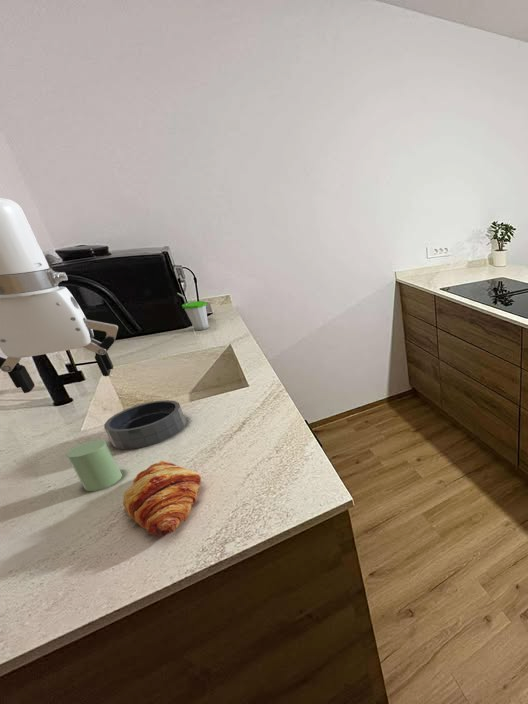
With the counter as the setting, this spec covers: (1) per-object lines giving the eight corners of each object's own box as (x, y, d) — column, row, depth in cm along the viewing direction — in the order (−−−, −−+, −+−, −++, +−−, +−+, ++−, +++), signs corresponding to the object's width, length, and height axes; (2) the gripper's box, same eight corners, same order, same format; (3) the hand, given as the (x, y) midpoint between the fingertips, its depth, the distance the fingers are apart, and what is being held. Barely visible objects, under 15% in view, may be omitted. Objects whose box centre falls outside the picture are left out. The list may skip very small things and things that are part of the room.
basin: (103, 458, 75) (93, 437, 73) (126, 426, 86) (117, 407, 84) (179, 441, 80) (171, 422, 78) (192, 413, 91) (185, 395, 89)
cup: (218, 326, 153) (207, 290, 147) (201, 332, 146) (189, 294, 140) (202, 325, 155) (191, 289, 149) (185, 331, 148) (172, 293, 142)
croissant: (151, 493, 71) (109, 472, 66) (199, 452, 74) (163, 430, 69) (158, 567, 56) (105, 547, 51) (218, 512, 60) (174, 488, 55)
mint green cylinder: (80, 497, 65) (59, 460, 62) (93, 479, 70) (74, 443, 66) (117, 488, 67) (98, 452, 64) (127, 471, 71) (110, 436, 68)
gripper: (99, 273, 66) (136, 361, 73) (-57, 287, 56) (2, 388, 63) (93, 279, 60) (133, 375, 67) (-81, 297, 51) (-13, 406, 58)
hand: (70, 381), depth 65 cm, fingers open, 9 cm apart
